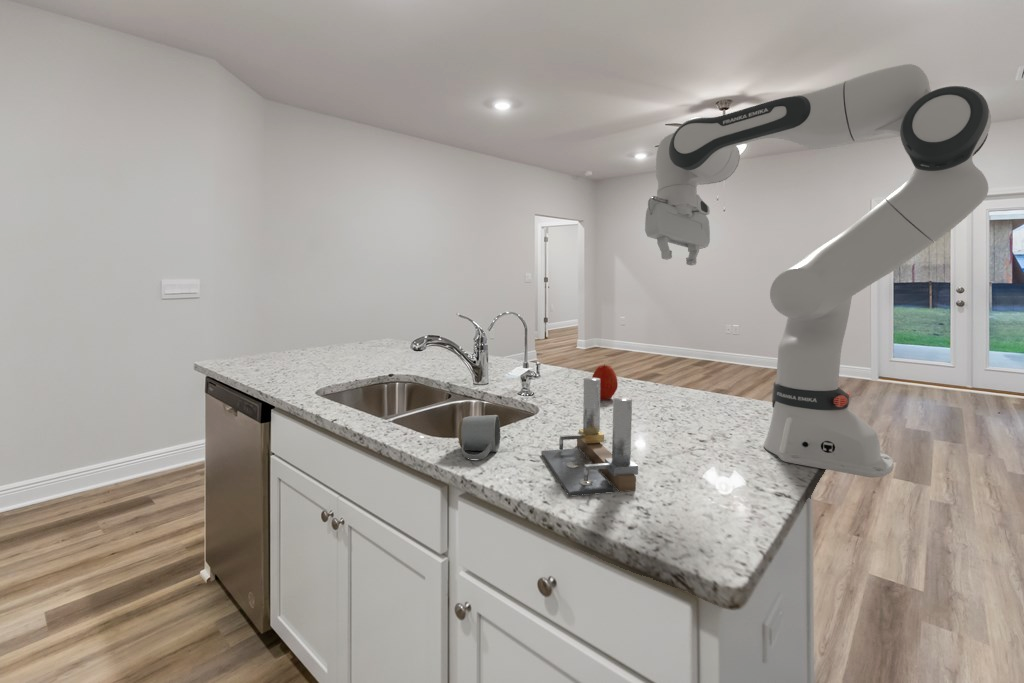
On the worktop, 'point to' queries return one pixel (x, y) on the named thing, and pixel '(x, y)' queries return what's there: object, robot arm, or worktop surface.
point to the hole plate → (575, 472)
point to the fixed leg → (619, 442)
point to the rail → (598, 455)
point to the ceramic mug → (479, 435)
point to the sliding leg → (589, 415)
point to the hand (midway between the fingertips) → (679, 261)
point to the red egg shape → (606, 381)
